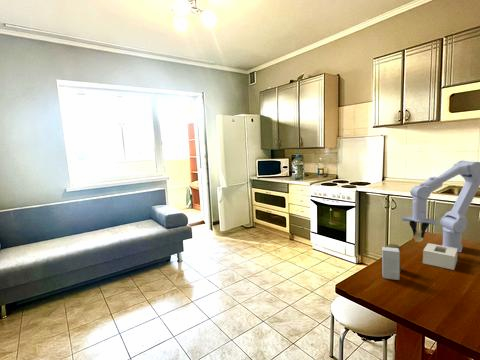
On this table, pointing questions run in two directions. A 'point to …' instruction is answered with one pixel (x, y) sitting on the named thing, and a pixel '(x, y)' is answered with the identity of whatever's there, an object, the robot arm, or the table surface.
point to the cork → (394, 247)
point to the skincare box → (390, 263)
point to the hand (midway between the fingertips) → (418, 236)
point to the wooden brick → (418, 236)
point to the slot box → (440, 256)
